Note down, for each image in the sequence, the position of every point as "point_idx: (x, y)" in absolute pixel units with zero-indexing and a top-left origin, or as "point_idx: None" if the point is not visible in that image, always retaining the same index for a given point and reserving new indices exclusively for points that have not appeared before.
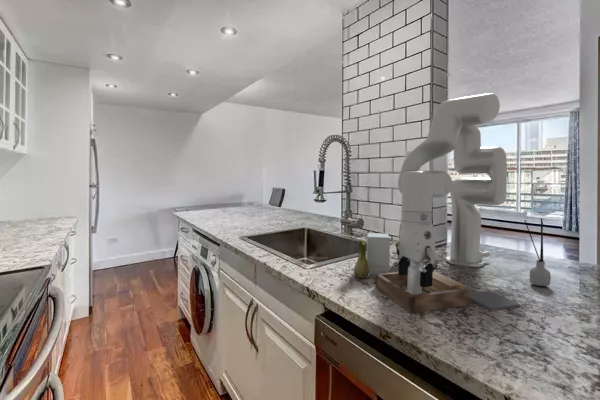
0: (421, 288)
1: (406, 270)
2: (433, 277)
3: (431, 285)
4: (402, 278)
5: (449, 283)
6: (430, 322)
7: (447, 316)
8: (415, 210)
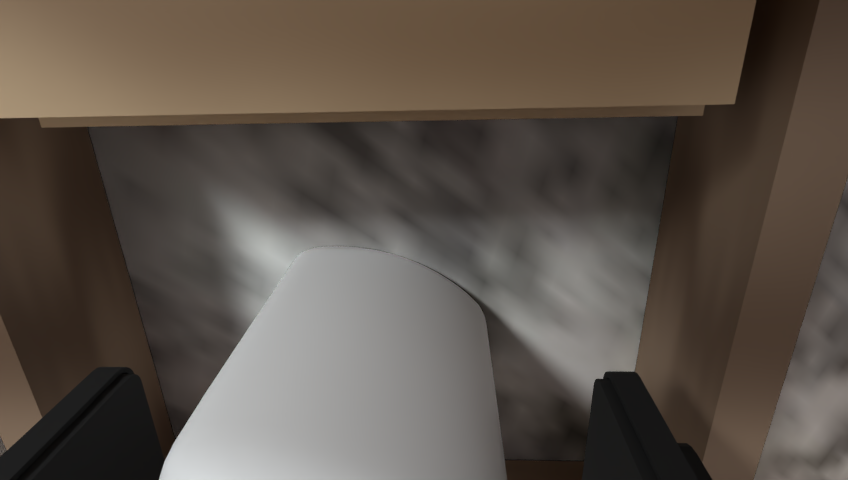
0: (487, 367)
1: (112, 448)
2: (304, 100)
3: (635, 380)
4: (72, 313)
5: (642, 31)
6: (818, 452)
7: (824, 294)
8: None
